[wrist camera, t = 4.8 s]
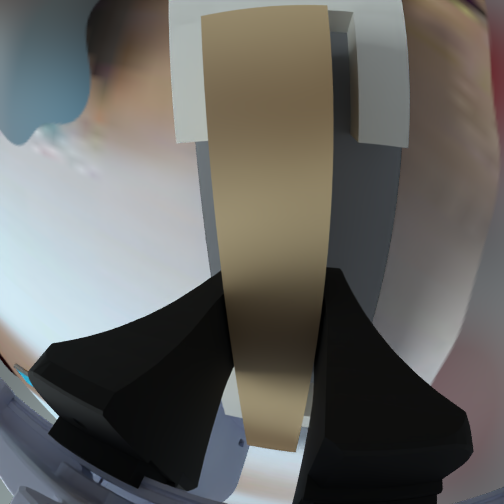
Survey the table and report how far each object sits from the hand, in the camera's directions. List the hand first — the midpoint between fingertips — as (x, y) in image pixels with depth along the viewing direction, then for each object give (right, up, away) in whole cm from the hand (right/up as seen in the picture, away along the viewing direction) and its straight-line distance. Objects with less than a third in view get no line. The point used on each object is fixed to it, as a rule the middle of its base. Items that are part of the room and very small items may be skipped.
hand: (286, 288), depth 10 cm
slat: (+1, +1, +2) cm, 2 cm away
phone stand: (-47, -27, +33) cm, 64 cm away
